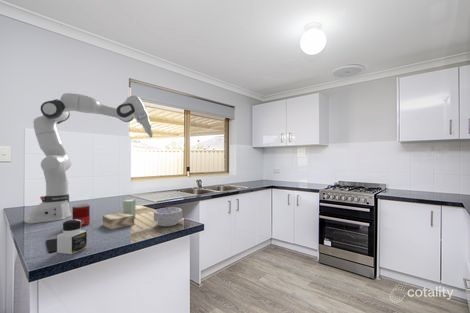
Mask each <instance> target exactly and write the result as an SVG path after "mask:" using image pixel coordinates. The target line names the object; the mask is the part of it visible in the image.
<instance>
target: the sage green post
mask: <svg viewBox="0 0 470 313" xmlns="http://www.w3.org/2000/svg"><path fill="white" fill-rule="evenodd" d="M122 202H123V204H122V205H123V206H122V211H123V212H126V213H129V214H131V215H134V219H135V218H136V199H126V200H123V201H122ZM123 212H122V213H123Z"/></svg>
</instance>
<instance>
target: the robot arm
mask: <svg viewBox="0 0 470 313" xmlns="http://www.w3.org/2000/svg"><path fill="white" fill-rule="evenodd" d="M145 108H146V107H145V105H144V103H143V101H142V100H141V98H140V97H139V96H137V95H130V96H128V97H126V99H125V101H124V102H122V103H121V104H119V105H118V106H117V107H113V106H112V107H111V106H107V105H104V104H102V103H101V102H100V101H98V100H97V99H95V98H93V97H91V96H88V95H85V94H79V93H70V92H69V93H68V92H66V93H63V94H62V95H61V96H60V99H52V100H47V101H44V102H43V103H42V104H41V105H40V111H41V114H42V115H40V116H37V117H35V118H34V120H33V121H32V122H33V129H34V133H35V136H36V140H37V143H38V146H39V148H40V151H42V152H43V154H44V155H45V157H44V158H43V159H41V162H40V167H41V170H42V171H43V175H44V180H45V191H46V192H45V195H44V196H43V195H42V196H40V197H39V199H40V200H41V203H39V204H37V205H36V206H35V207H33V208H32V209H31V211H30V213H29V217H27V218H25V219H24V223H25V224H30V225H31V224H37V223H47V222H53V221H62V220H64V219H66V218H67V219H68V218H70V217H71V216H72V213H71V210H70V204H69V203H70V194H69V181H68V179H67V174H66V171H68V170H69V169H70V167H71V166H72V161H71V159H70V158H69V155H68V153H67V151H66V149H65V148H64V145H63V143H62V140H61V138H60V133H59V131H58V129H57V125H60V124H61V123H63V122H66V121H67V120H68V119H69V118H70V116H71V114H70V112H71V111H72V112H73V111H75V112H79V113H85V114H96V115H104V116H107V117H112V118H117V119H118V120H120V121H121V122H124V123H129V122H132V121H133V120H134V119H135V120H136V122H137V123H138V124H140V125H142V127H143V130H144V132H145V133H146V134H147V136H148V137H149V138H152V137H153V131H152V125H151V122H150V115H149V113H148V112H147V110H146V109H145Z"/></svg>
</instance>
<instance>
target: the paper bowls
mask: <svg viewBox="0 0 470 313" xmlns="http://www.w3.org/2000/svg"><path fill="white" fill-rule="evenodd" d="M182 219H183V209H182V208H180V207H173V206H171V207H170V206H169V207H162V208H157V209H155V210H154V211H153V221H154V222H156V223H157V224H158V225H159V226H160V227H173V226H176V225H177V224H179V222H180V221H181V220H182Z"/></svg>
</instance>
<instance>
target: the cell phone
mask: <svg viewBox="0 0 470 313" xmlns="http://www.w3.org/2000/svg"><path fill="white" fill-rule="evenodd" d="M45 242H46V247H47V251H48V254H53V253H57V237H55V238H51V239H47V240H45Z"/></svg>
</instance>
